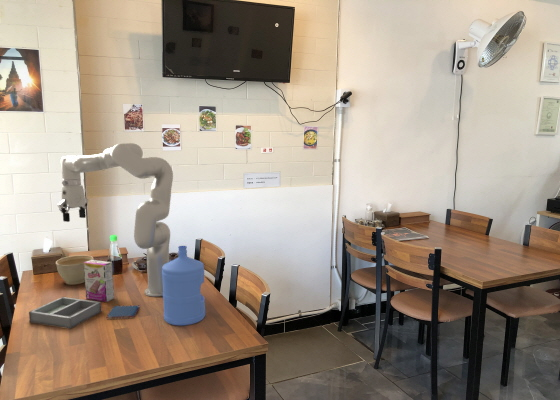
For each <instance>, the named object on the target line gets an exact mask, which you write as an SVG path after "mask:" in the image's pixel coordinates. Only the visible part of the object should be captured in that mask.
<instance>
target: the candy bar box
mask: <svg viewBox="0 0 560 400" xmlns="http://www.w3.org/2000/svg"><path fill="white" fill-rule="evenodd" d="M84 275H85V282H84V287H85V300H89V301H96V302H104V303H108V302H110V301H112V300H114V299H115V291H114V275H113V262H112V261H106V260H105V261H104V260H96V259H93V260H89V261H87V262H84Z"/></svg>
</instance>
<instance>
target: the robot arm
mask: <svg viewBox="0 0 560 400" xmlns="http://www.w3.org/2000/svg"><path fill="white" fill-rule="evenodd" d="M143 155H144V152H143V149H142V147H141V146H140V145H138V144H136V143H133V142H132V143H131V142H129V143H125V142H124V143H117V144H115V145H114V146H113V147H110V148H106V149H104V150H103V152H102V153H98V154H91V155H90V154H89V155H77V156H76V155H66V156H64V155H63V156H62V157H61V159H60V164H61V166H60V167H61V174H62V176H61V177H62V178H61V179H62V182H61V184H62V189H61V201H59V203H57V207H58V210H59V211H60V212H61V214H62V219H63V222H64V223H65V222H66V223H69V222H70V221H71V218H70V217H71V216H70V213H69V211H70V210H71V209H77V208H79V209H78V215H79V216H78V217H79V218H81V219H82V218H83V219H84V218H86V215H87V214H86V210H87V206H88V202H89V199H88V198H87V197H86V196H85V195H86V194H85V190H84V186H83V185H82V180H81V176H82V175H81V174H83V173H84V174H85V173H91V172H98V171H103V170H108V169H112V168H117V167H121V168H122V169H123V170H124V171H126V172H128V173H129V174H130V175H132V176H133V177H135V178H138V179H140V180H141V179H150V178H154V180H153V182H152V184H151V187H150V194H149V199H148V200H146V201H143V202H142V203H139V205H138V207H137V209H136V212H135V218H134V229H133V239H134V242H135V244H136V246H137V247H139V249H142V250H146V269H147V288H146V289H144V294H145V295H146V296H148V297H156V298H157V297H163V278H162V267H163V265H164V264H166V263H168V262H170V242H171V241H170V240H171V230H170V228H169V225H167V223H164V222H162V220H166V218H168V216H169V214H170V209H171V208H170V207H171V200H172V199H171V198H172V186H173V183H174V182H173V180H174V173H173V169H172V166H171V164H170V163H169V162H168V161H167V160H166V159H164V158H163V157H157V156H152V157H151V156H149V157H143Z"/></svg>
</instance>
